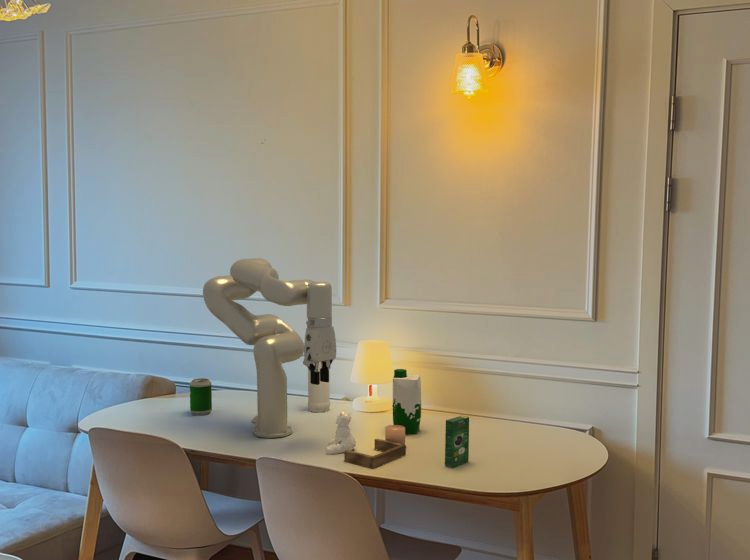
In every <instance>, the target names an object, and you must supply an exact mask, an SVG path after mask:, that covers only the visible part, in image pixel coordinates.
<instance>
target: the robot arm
mask: <svg viewBox="0 0 750 560" xmlns="http://www.w3.org/2000/svg"><path fill="white" fill-rule="evenodd" d="M332 288H333V287H332V284H331V283H330V282H327V281H314V280H312V279H299V280H297V279H296V280H287V281H286V280H281V279H279V272H278V271H277V270H276V269H275V268H273V266H272V265H271V263H270V262H269V261H268V260H267V259H265V258H261V257H258V258H241V259H238V260H236V261H235V262H233V264H231V267H230V269H229V275H220V276H215V277H212V278H210V279H208V280H206V282H205V283H204V285H203V288H202V297H203V302H204V304H205V306H206V307H207V309H208V311H209V312H210V313H211V314H212V316H214V317H215V318H216V319H217V320H219V322H221V323H223V324H224V325H225V326H226V327H227V328H228V329H229V330H230V331H231V332H232V333H233V334H234V335H235V336H237V338H238V339H240V340H241V341H242V342H243V343H244V344H245V345H247V346H253V349H252V350H253V357H254V358H253V359H254V363H255V367H256V368H255V371H256V390H257V391H256V392H257V393H256V394H257V396H256V397H257V398H256V399H257V401H256V403H257V406H256V407H257V415H255V416H254V417H253V418H252V419H251V420H250V423H251V424H254V425H255V427H254V428H253V429H252V434H253V435H254V436H255V437H258V438H263V439H275V438H282V437H283V438H284V437H288V436H289V435H292V433H293V428H292V426H289V425H288V378H287V377H288V376H287V373H286V371H285V369H284V366H283V365H282V364H285V363H291V362H294V361H297V360H299V359H300V358H302V356H304V358H303V361H302V365H304V366H305V367H307V369H308V368H309V371H310V382H311V384H315V385H319V384H320V381H321V382H329V383H330V369H331V365H332V364H333V361H334V360H336V357H337V340H336V333H335V328H334V326H333V313H332V312H333V309H332V308H333V305H332V304H333V300H332V299H333V297H332V296H333V294H332V293H333V291H332ZM256 292H260V294H261V295H262V297H263V298H264V299H265V300H266V301H268V302H271V303H274V304H275V305H279V306H282V307H293V306H301V305H306V322H305V325H306V328H305V335H304V341H303V339H302V337H301V336H300V335H299V333H298V332H297V331H295V330H294V329H293V328H292V327H291V326H290V325H289V324H287V322H285V321H284V320H283V319H282V318H281V317H279V316H278V315H276V314H270V313H269V314H268V313H267V314H257V315H256V314H254V313H252V312H251V311H249V310H248V309H247V308H246V307H245V306H243V305H242V304H240V303H238V302H236V301H237V300H238V301H239V300H245V299H248V298H250V297H251V296H253V295H254V294H255V293H256ZM313 360H314V361H313ZM319 362H321V367H322V368H320V372H318V366H319ZM313 363H315V366H314V365H313Z"/></svg>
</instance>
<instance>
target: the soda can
mask: <svg viewBox="0 0 750 560" xmlns="http://www.w3.org/2000/svg"><path fill="white" fill-rule="evenodd" d="M212 392H213V391H212V381H211V380H210V379H208V378H205V377H203V378H194V379H192V380H191V381H190V383H189V412H191V414H192V415H194V416H198V417H199V416H206V415H209V414H210V413H211V411H212V410H213V400H212Z"/></svg>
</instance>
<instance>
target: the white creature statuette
mask: <svg viewBox="0 0 750 560" xmlns="http://www.w3.org/2000/svg"><path fill="white" fill-rule="evenodd" d="M351 420H352V416H351V413H350V411H346V410H342V411H340V413H339V415H338V416H337V417H336V421H335V424H337V426H336V431H335V435H334V438H332V439H329V440H328V441H327V445H328V446H327V447H326V448H325V453H326V454H327V455H337V454H343V453H344V451H345V450H350V451H353V450H354V449H355V447H356V444H357V443H356V439H355V438H356V437H354V436H353V434H352V433H351V427H349V425H350V422H351Z"/></svg>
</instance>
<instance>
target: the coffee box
mask: <svg viewBox="0 0 750 560" xmlns="http://www.w3.org/2000/svg"><path fill="white" fill-rule="evenodd" d="M444 436H445V440H444V441H445V445H444V446H445V449H444V451H445V452H444V466H445V467H446V468H447V467H448V468H449V469H451V468H454V467H458V466H460V465H462V464H466V463H467V462H469V458H470V457H469V456H470V455H469V453H470V452H469V448H470V447H469V446H470V445H469V444H470V442H469V441H470V440H469V439H470V417H469V416H468V415H467V416H465V415H460V416H456V417H453V418H449V419H446V420H445V435H444Z"/></svg>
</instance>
